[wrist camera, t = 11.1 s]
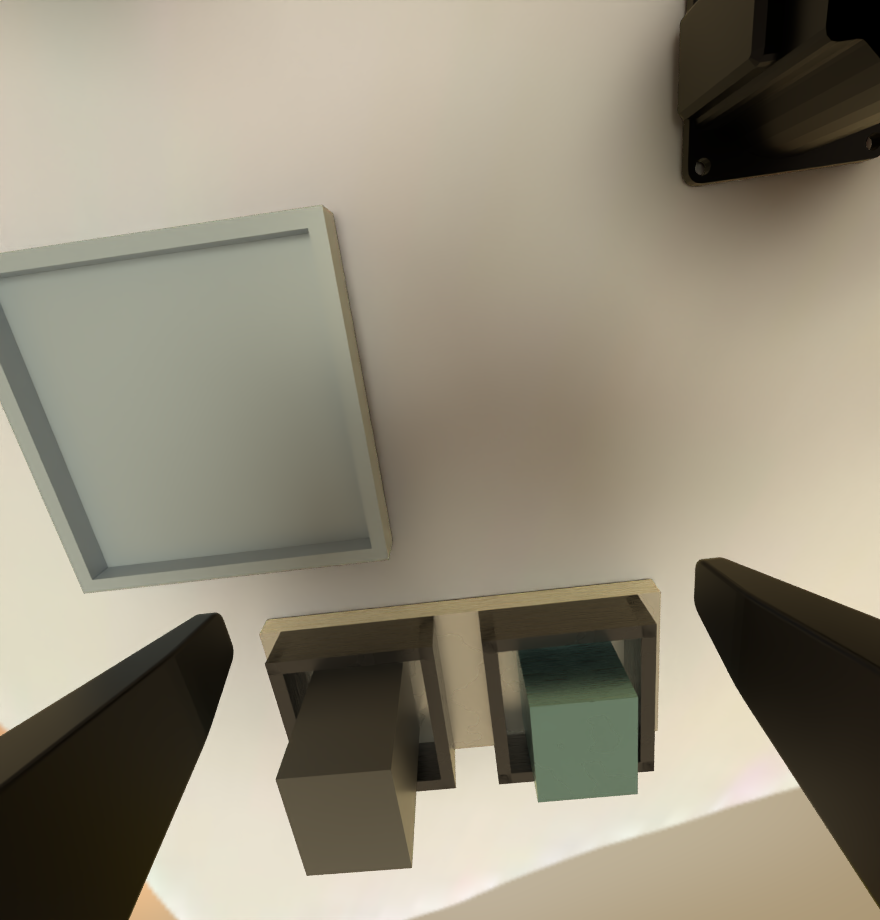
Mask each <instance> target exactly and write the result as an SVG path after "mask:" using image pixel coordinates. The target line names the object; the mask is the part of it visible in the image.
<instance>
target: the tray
mask: <svg viewBox="0 0 880 920" xmlns="http://www.w3.org/2000/svg"><path fill="white" fill-rule="evenodd" d="M0 402H1V404H2V407H3V409H4V411H5V414H6V416H7V418H8V421H9V423H10V425H11V427H12V430H13V432H14V434H15V437H16V439H17V441H18V444H19V446H20V448H21V450H22V453H23V455H24V457H25V460H26V462H27V464H28V466H29V469H30V471H31V473H32V476H33V478H34V480H35V483H36V485H37V487H38V489H39V492H40V494H41V496H42V499H43V501H44V503H45V506H46V508H47V510H48V512H49V515H50V517H51V519H52V522H53V524H54V526H55V529H56V531H57V533H58V535H59V538H60V540H61V542H62V545H63V547H64V549H65V551H66V554H67V556H68V558H69V561H70V563H71V565H72V568H73V570H74V572H75V574H76V577H77V579H78V581H79V584H80V586H81V588H82V591H83V593H84V594H85V593H94V592H103V591H112V590H121V589H130V588H139V587H148V586H157V585H166V584H175V583H184V582H193V581H202V580H211V579H220V578H229V577H238V576H247V575H256V574H265V573H274V572H283V571H292V570H301V569H310V568H319V567H328V566H337V565H346V564H355V563H364V562H373V561H382V560H389V556H390V551H391V547H392V542H393V540H392V535H391V529H390V524H389V518H388V513H387V507H386V502H385V496H384V491H383V485H382V480H381V474H380V469H379V463H378V458H377V452H376V447H375V441H374V436H373V430H372V425H371V419H370V414H369V408H368V403H367V397H366V392H365V387H364V381H363V376H362V370H361V365H360V359H359V354H358V348H357V343H356V337H355V332H354V326H353V321H352V315H351V310H350V304H349V299H348V293H347V288H346V282H345V277H344V271H343V266H342V260H341V255H340V249H339V244H338V238H337V233H336V227H335V222H334V216H333V213H332V212H330V211H329V210H328V209H327V208H325V207H324V206H323V205H318V206H312V207H305V208H298V209H292V210H285V211H278V212H271V213H265V214H258V215H251V216H245V217H238V218H231V219H225V220H218V221H211V222H205V223H198V224H191V225H184V226H178V227H171V228H164V229H158V230H151V231H144V232H138V233H131V234H124V235H118V236H111V237H104V238H98V239H91V240H84V241H77V242H71V243H64V244H57V245H51V246H44V247H37V248H31V249H24V250H17V251H11V252H4V253H0Z"/></svg>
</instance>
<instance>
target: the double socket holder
mask: <svg viewBox="0 0 880 920" xmlns="http://www.w3.org/2000/svg"><path fill="white" fill-rule="evenodd" d="M660 598H661V592H660V590H659V589H658V588H657V586H656V585H655V584H654V582H653V581H652V580H651V579H647V580H638V581H628V582H619V583H610V584H600V585H591V586H581V587H572V588H562V589H553V590H543V591H534V592H525V593H515V594H506V595H496V596H487V597H477V598H468V599H458V600H449V601H440V602H430V603H421V604H411V605H402V606H392V607H383V608H374V609H364V610H355V611H345V612H336V613H326V614H317V615H307V616H298V617H289V618H279V619H270V620H267V621H266V623H265V625H264V626H263V628H262V630H261V632H260V638H261V641H262V644H263V647H264V651H265V654H266V657H267V661H266V663H265V665H266V669H267V672H268V675H269V678H270V682H271V685H272V688H273V691H274V695H275V698H276V701H277V704H278V708H279V711H280V714H281V717H282V721H283V724H284V727H285V730H286V734H287V737H288V740H290V737H291V734H292V731H293V728H294V726H295V723H296V720H297V717H298V714H299V711H300V709H301V706H302V703H303V700H304V697H305V694H306V691H307V689H308V686H309V683H310V680H311V677H312V674H313V671H317V670H327V669H337V668H347V667H357V666H367V665H377V664H387V663H397V662H407V661H408V666H409V672H410V677H411V683H412V688H413V694H414V700H415V705H416V711H417V716H418V722H419V727H420V735H419V753H418V770H417V788H416V791H427V790H439V789H450V788H456V774H455V749H460V748H471V747H482V746H493V745H494V747H495V755H496V763H497V771H498V779H499V784H508V783H520V782H532V781H534V783H535V789H536V794H537V799H538V802H548V801H560V800H572V799H584V798H596V797H608V796H620V795H631V794H638V772H648V771H654V742H655V731H657V729H658V685H659V642H660Z"/></svg>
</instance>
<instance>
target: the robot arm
mask: <svg viewBox="0 0 880 920" xmlns="http://www.w3.org/2000/svg"><path fill="white" fill-rule="evenodd" d="M678 114H679V115H680V116H681V118H682V119H683V120H684V124H683V157H682V175H683V179H684V181H685V182H686V183H687V184H688V185H690V186H702V185H709V184H715V183H722V182H729V181H736V180H743V179H750V178H757V177H763V176H770V175H777V174H784V173H791V172H798V171H805V170H812V169H818V168H825V167H832V166H839V165H846V164H853V163H860V162H864V161H867V160H870V159H873V158H876V157H878V156H879V155H880V0H687V14H686V15H685V16H684V18H683V19H682V20H681V23H680V44H679V82H678ZM868 137H869V138H870V139H871V141H872V145H871V148H870V149H869V150H868V148H867V147H866V141H867V138H868ZM698 161H700V162H702V163H703V164H704V168H705V169H704V173H703V174H702V175H698V174H697V173H696V170H695V166H696V163H697V162H698ZM694 602H695V606H696V609H697V612H698V614H699V616H700V618H701V620H702V622H703V624H704V626H705V628H706V630H707V632H708V634H709V636H710V637H711V639H712V641H713V643H714V645H715V647H716V649H717V651H718V653H719V655H720V657H721V659H722V661H723V663H724V665H725V667H726V669H727V671H728V673H729V675H730V677H731V678H732V680H733V682H734V684H735V686H736V688H737V689H738V691H739V693H740V694H741V696H742V697H743V699H744V701H745V702H746V704H747V705H748V707H749V708H750V710H751V712H752V713H753V715H754V716H755V718H756V719H757V721H758V722H759V724H760V725H761V727H762V728H763V730H764V732H765V733H766V735H767V736H768V738H769V739H770V741H771V742H772V744H773V745H774V747H775V748H776V750H777V752H778V753H779V755H780V756H781V758H782V759H783V761H784V762H785V764H786V765H787V767H788V769H789V770H790V772H791V773H792V775H793V776H794V778H795V779H796V781H797V782H798V784H799V785H800V787H801V789H802V790H803V792H804V793H805V795H806V796H807V798H808V799H809V801H810V802H811V804H812V805H813V807H814V808H815V810H816V812H817V813H818V815H819V816H820V818H821V819H822V821H823V822H824V824H825V826H826V827H827V829H828V830H829V832H830V833H831V834H832V836H833V838H834V839H835V841H836V842H837V844H838V846H839V847H840V849H841V850H842V852H843V853H844V855H845V856H846V858H847V859H848V861H849V862H850V864H851V866H852V867H853V869H854V870H855V872H856V873H857V875H858V876H859V878H860V879H861V881H862V882H863V884H864V886H865V887H866V889H867V890H868V892H869V893H870V895H871V896H872V898H873V899H874V901H875V902H876V904H877V906H878V907H879V909H880V619H878V618H875V617H873V616H870V615H868V614H865V613H863V612H860V611H858V610H855V609H853V608H850V607H847V606H845V605H842V604H840V603H837V602H835V601H832V600H830V599H827V598H824V597H822V596H819V595H817V594H814V593H812V592H809V591H807V590H804V589H801V588H799V587H796V586H794V585H791V584H789V583H786V582H784V581H781V580H779V579H776V578H773V577H771V576H768V575H766V574H763V573H761V572H758V571H756V570H753V569H751V568H748V567H745V566H743V565H740V564H738V563H735V562H733V561H730V560H728V559H725V558H721V557H718V558H709V559H701V560H699V561H698V562H697V564H696V567H695V588H694ZM232 660H233V645H232V642H231V639H230V636H229V634H228V631H227V628H226V625H225V622H224V620H223V618H222V616H221V615H220V614H218V613H207V614H199V615H196V616H194V617H192V618H191V619H189V620H187V621H186V622H184V623H183V624H181V625H179V626H178V627H176V628H175V629H173V630H171V631H170V632H168V633H166V634H165V635H163V636H162V637H160V638H158V639H157V640H155V641H153V642H152V643H150V644H149V645H147V646H145V647H144V648H142V649H141V650H139V651H137V652H136V653H134V654H132V655H131V656H129V657H128V658H126V659H124V660H123V661H121V662H119V663H118V664H116V665H115V666H113V667H111V668H110V669H108V670H107V671H105V672H103V673H102V674H100V675H98V676H97V677H95V678H94V679H92V680H90V681H89V682H87V683H86V684H84V685H82V686H81V687H79V688H77V689H76V690H74V691H73V692H71V693H69V694H68V695H66V696H64V697H63V698H61V699H60V700H58V701H56V702H55V703H53V704H52V705H50V706H48V707H47V708H45V709H43V710H42V711H40V712H39V713H37V714H35V715H34V716H32V717H30V718H29V719H27V720H26V721H24V722H22V723H21V724H19V725H18V726H16V727H14V728H13V729H11V730H9V731H8V732H6V733H5V734H3V735H2V736H0V920H129V918H130V916H131V913H132V911H133V909H134V906H135V904H136V902H137V900H138V897H139V895H140V892H141V890H142V888H143V886H144V883H145V881H146V879H147V876H148V874H149V872H150V869H151V867H152V865H153V862H154V860H155V858H156V856H157V853H158V851H159V849H160V846H161V844H162V842H163V839H164V837H165V835H166V832H167V830H168V828H169V825H170V823H171V821H172V818H173V816H174V814H175V811H176V809H177V807H178V805H179V802H180V800H181V798H182V795H183V793H184V791H185V788H186V786H187V784H188V781H189V779H190V777H191V774H192V772H193V770H194V767H195V765H196V763H197V760H198V758H199V756H200V753H201V751H202V749H203V746H204V744H205V741H206V739H207V736H208V733H209V731H210V728H211V725H212V722H213V719H214V716H215V713H216V710H217V707H218V703H219V700H220V697H221V694H222V691H223V688H224V685H225V682H226V679H227V676H228V672H229V669H230V666H231V663H232Z"/></svg>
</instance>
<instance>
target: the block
mask: <svg viewBox="0 0 880 920" xmlns="http://www.w3.org/2000/svg"><path fill="white" fill-rule="evenodd" d="M419 735H420V727H419V722H418V716H417V711H416V705H415V700H414V694H413V688H412V683H411V677H410V672H409V666H408V661H407V662H397V663H387V664H377V665H367V666H357V667H347V668H337V669H327V670H317V671H313V674H312V677H311V680H310V683H309V686H308V689H307V691H306V694H305V697H304V700H303V703H302V706H301V709H300V711H299V714H298V717H297V720H296V723H295V726H294V728H293V731H292V734H291V737H290V740H289V743H288V746H287V748H286V751H285V754H284V757H283V760H282V763H281V766H280V768H279V771H278V774H277V777H276V782H277V785H278V788H279V791H280V794H281V798H282V801H283V804H284V807H285V810H286V813H287V816H288V819H289V822H290V825H291V828H292V832H293V835H294V838H295V841H296V844H297V847H298V850H299V853H300V856H301V859H302V862H303V866H304V869H305V872H306V875H307V876H310V875H323V874H337V873H350V872H364V871H377V870H391V869H404V868H412V859H413V842H414V824H415V806H416V788H417V770H418V753H419Z"/></svg>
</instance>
